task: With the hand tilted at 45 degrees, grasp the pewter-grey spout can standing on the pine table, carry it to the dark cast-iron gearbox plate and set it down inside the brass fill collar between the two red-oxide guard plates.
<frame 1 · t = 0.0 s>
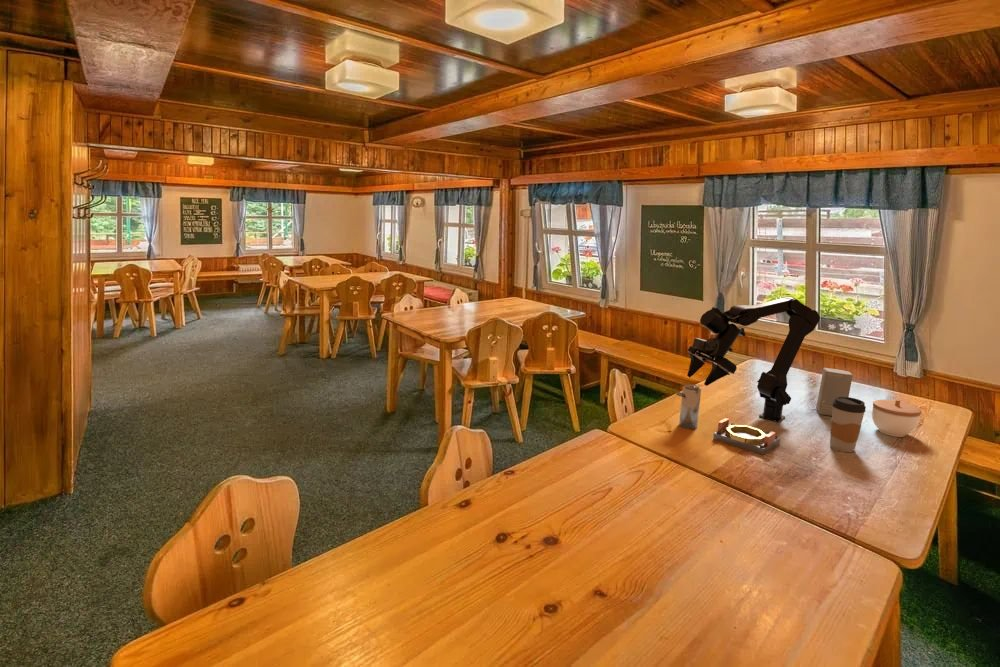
hand: (696, 380, 174), 15 cm above the table, tool tilted 35°, fingers open, 9 cm apart
gearbox: (745, 441, 164), on the table
lidded bowl: (891, 433, 174), on the table
skincare box: (830, 413, 190), on the table
coffee cup: (841, 448, 161), on the table
spout can: (688, 425, 175), on the table
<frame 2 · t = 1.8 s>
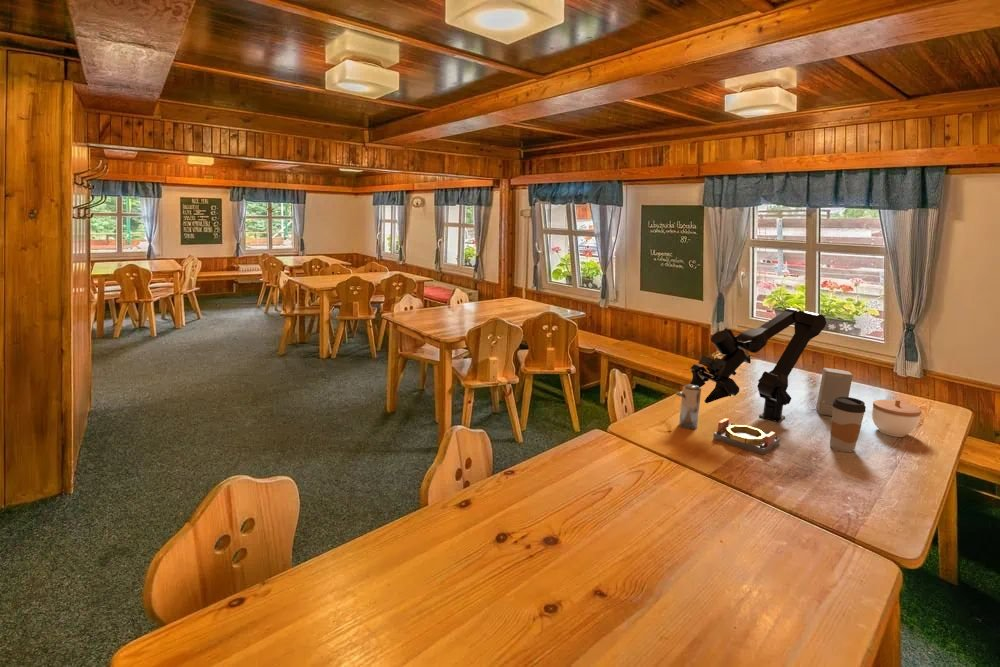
hand: (696, 397, 174), 10 cm above the table, tool tilted 45°, fingers open, 9 cm apart
nothing on the table moved.
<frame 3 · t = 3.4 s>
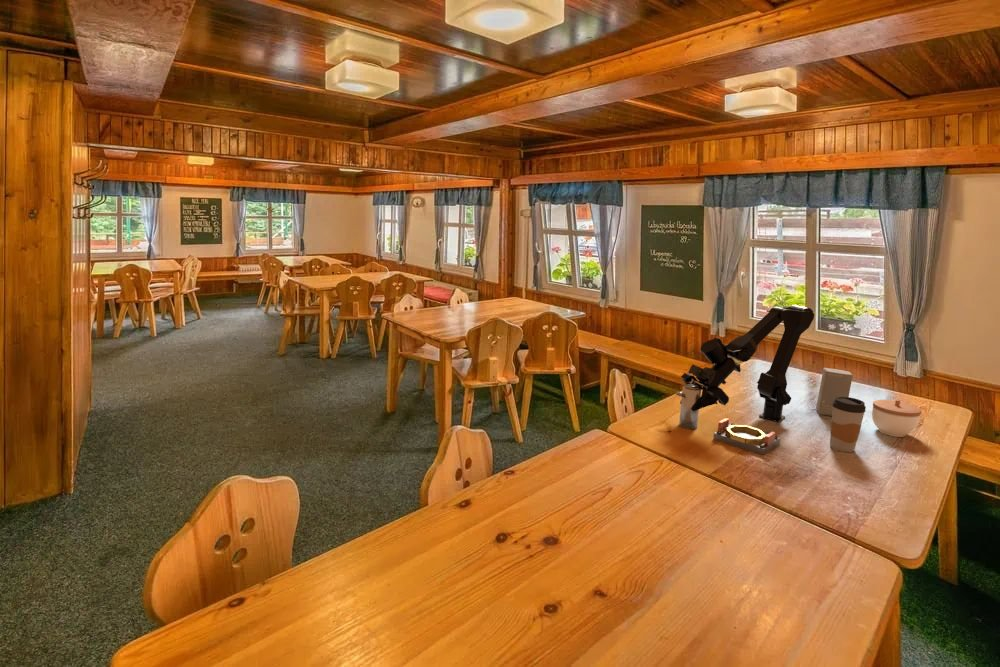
hand: (686, 407, 174), 7 cm above the table, tool tilted 45°, fingers closed on spout can, 6 cm apart
spout can: (688, 425, 175), on the table, touching gripper
everything else where it was.
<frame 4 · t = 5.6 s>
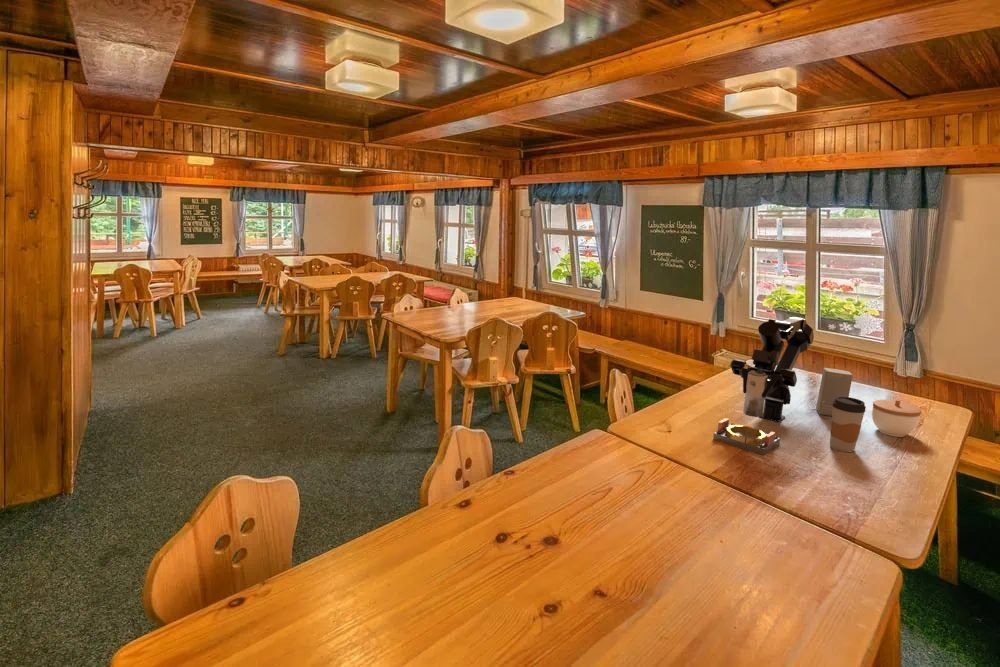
hand: (753, 394, 166), 13 cm above the table, tool tilted 45°, fingers closed on spout can, 6 cm apart
spout can: (752, 413, 169), point 7 cm above the table, touching gripper
everything else where it was.
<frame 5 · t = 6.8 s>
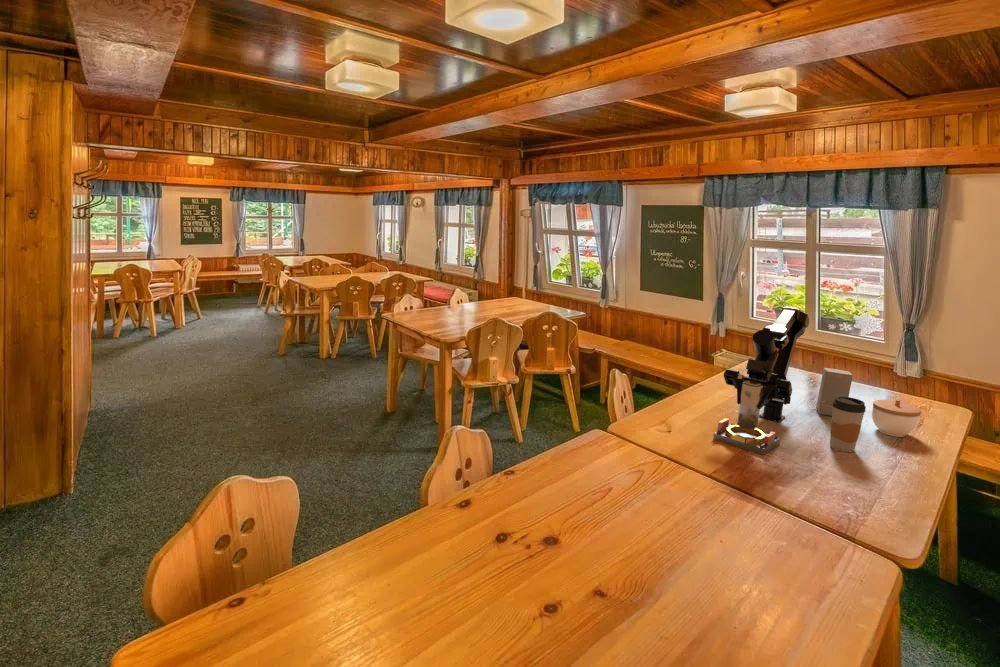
hand: (748, 406, 160), 12 cm above the table, tool tilted 45°, fingers closed on spout can, 6 cm apart
spout can: (747, 425, 162), point 5 cm above the table, touching gripper
everything else where it was.
when the fingers open (9 cm above the table, at t = 7.8 s): spout can stays where it is, resting on gearbox.
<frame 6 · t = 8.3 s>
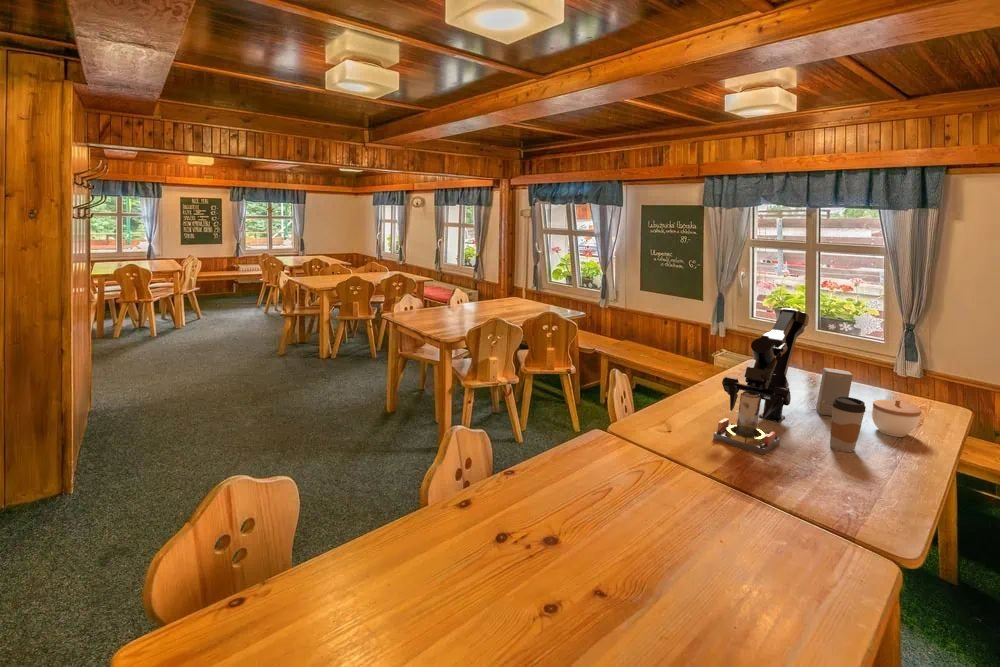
hand: (746, 414, 160), 10 cm above the table, tool tilted 45°, fingers open, 9 cm apart
spout can: (745, 436, 163), point 2 cm above the table, touching gearbox
everything else where it was.
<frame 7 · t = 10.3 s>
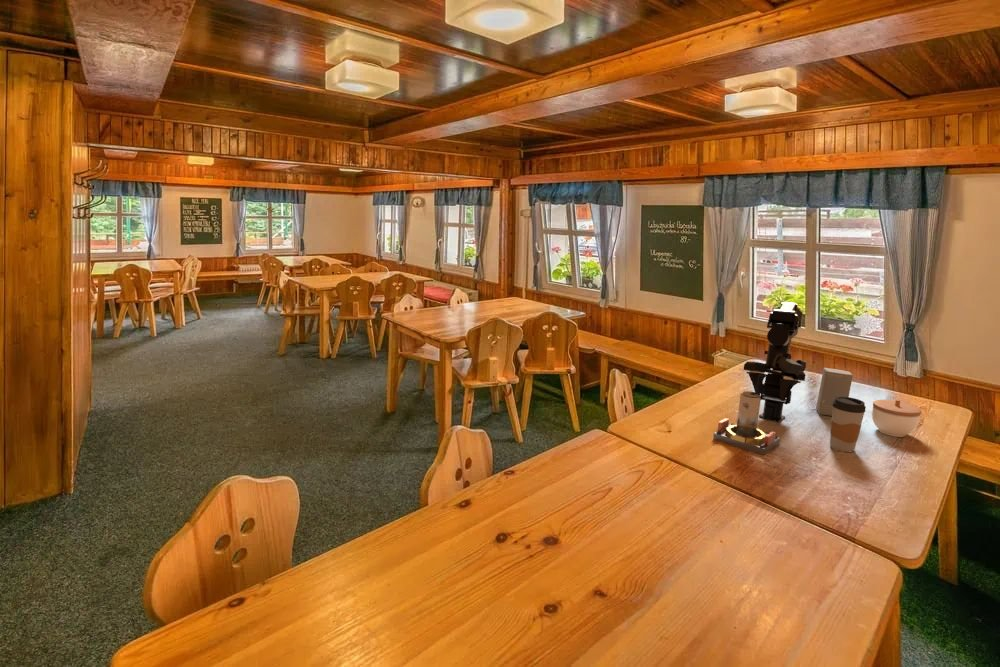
hand: (770, 398, 167), 12 cm above the table, tool tilted 20°, fingers open, 9 cm apart
nothing on the table moved.
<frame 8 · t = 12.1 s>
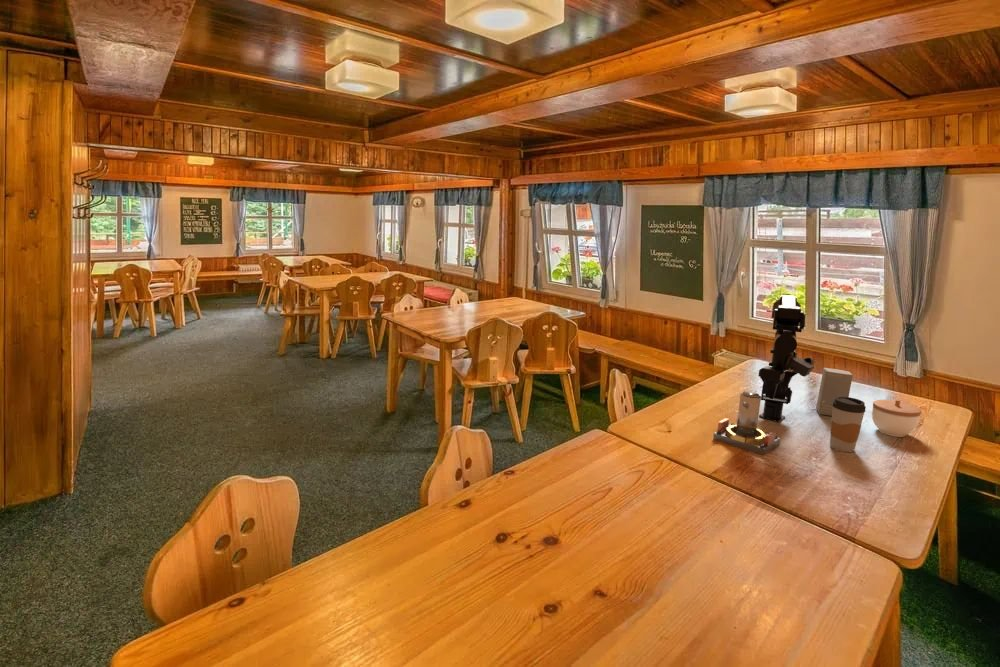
hand: (777, 395, 167), 13 cm above the table, tool pointing down, fingers open, 9 cm apart
nothing on the table moved.
at the end: spout can 0.1 cm from the target spot on the gearbox, point 2.0 cm above the gearbox's base; spout can tilted 0°; the gripper is holding nothing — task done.
